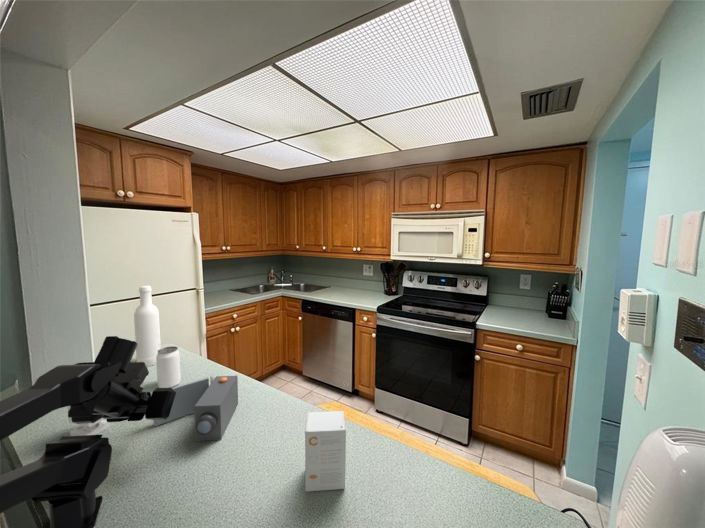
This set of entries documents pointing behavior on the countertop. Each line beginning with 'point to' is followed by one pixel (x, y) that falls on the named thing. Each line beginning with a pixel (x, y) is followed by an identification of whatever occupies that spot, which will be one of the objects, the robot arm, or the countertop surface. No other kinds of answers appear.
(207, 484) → the countertop surface
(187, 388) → the side door
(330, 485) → the small box
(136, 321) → the bottle
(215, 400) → the camera body
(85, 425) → the security camera
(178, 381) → the can
